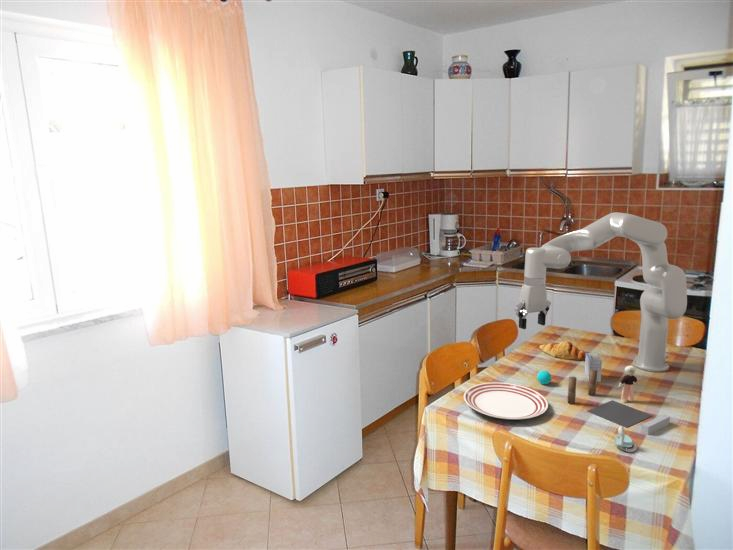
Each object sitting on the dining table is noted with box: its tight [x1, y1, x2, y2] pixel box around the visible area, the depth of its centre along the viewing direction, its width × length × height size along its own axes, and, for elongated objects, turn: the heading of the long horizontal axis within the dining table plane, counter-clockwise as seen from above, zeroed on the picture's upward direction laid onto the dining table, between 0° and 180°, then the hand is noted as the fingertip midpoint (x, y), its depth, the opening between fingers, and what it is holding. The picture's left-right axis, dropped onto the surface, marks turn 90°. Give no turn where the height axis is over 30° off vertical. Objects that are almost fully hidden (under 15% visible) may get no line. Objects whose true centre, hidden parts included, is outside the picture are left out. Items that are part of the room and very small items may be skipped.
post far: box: [567, 376, 577, 405], centre depth 185 cm, size 2×2×9 cm
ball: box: [536, 370, 552, 385], centre depth 201 cm, size 5×5×5 cm
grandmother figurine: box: [617, 365, 639, 404], centre depth 185 cm, size 8×4×13 cm, turn 118°
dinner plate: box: [463, 381, 549, 420], centre depth 183 cm, size 27×27×3 cm
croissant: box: [539, 340, 587, 361], centre depth 230 cm, size 21×10×8 cm, turn 49°
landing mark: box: [586, 399, 653, 429], centre depth 177 cm, size 14×14×1 cm
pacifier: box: [613, 425, 638, 453], centre depth 156 cm, size 7×6×6 cm
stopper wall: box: [640, 413, 671, 435], centre depth 167 cm, size 12×2×2 cm, turn 123°
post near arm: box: [587, 369, 597, 397], centre depth 191 cm, size 2×2×9 cm
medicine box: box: [584, 352, 603, 383], centre depth 205 cm, size 8×4×9 cm, turn 168°
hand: (531, 326), depth 203 cm, fingers open, 9 cm apart
